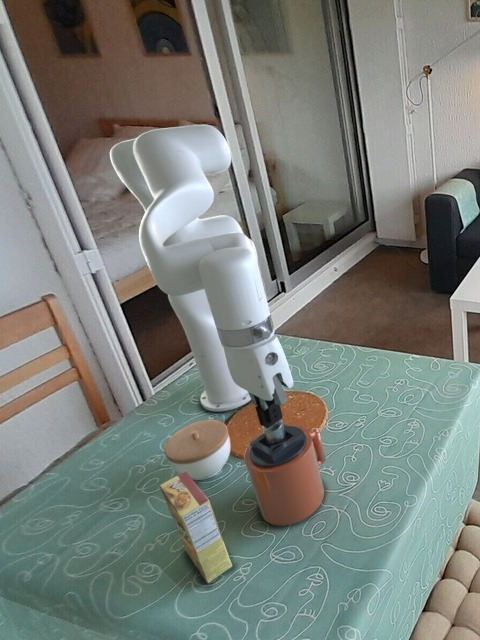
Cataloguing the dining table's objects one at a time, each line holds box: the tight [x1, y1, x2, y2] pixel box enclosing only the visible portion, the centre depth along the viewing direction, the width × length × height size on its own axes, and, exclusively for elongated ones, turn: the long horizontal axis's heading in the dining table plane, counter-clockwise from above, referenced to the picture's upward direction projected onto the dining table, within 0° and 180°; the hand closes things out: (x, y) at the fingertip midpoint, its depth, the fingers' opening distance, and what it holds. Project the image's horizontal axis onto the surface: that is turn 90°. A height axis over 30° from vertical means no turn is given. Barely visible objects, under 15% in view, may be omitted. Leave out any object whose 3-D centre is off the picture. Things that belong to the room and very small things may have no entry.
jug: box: [243, 423, 327, 527], centre depth 90 cm, size 11×14×15 cm
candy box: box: [159, 471, 233, 584], centre depth 79 cm, size 9×4×15 cm, turn 50°
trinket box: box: [163, 419, 232, 481], centre depth 97 cm, size 11×11×9 cm
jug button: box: [261, 419, 286, 445], centre depth 85 cm, size 3×3×3 cm
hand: (271, 421), depth 84 cm, fingers closed
